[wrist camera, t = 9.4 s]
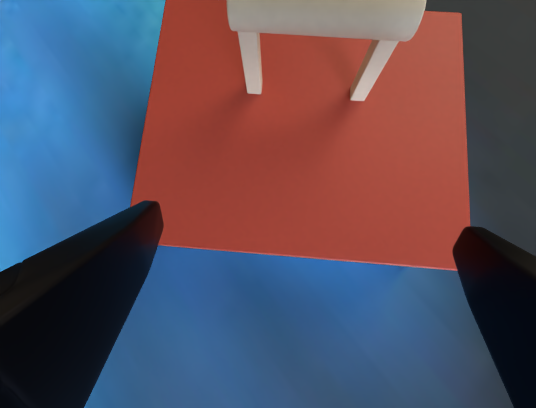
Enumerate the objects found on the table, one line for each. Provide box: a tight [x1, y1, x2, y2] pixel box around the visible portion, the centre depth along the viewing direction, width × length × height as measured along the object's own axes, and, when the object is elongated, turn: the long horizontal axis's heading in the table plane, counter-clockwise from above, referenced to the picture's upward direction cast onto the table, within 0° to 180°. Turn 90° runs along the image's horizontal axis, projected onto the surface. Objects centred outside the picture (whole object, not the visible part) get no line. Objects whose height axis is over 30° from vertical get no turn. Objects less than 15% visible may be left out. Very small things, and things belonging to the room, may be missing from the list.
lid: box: [130, 0, 470, 271], centre depth 11 cm, size 13×15×6 cm
